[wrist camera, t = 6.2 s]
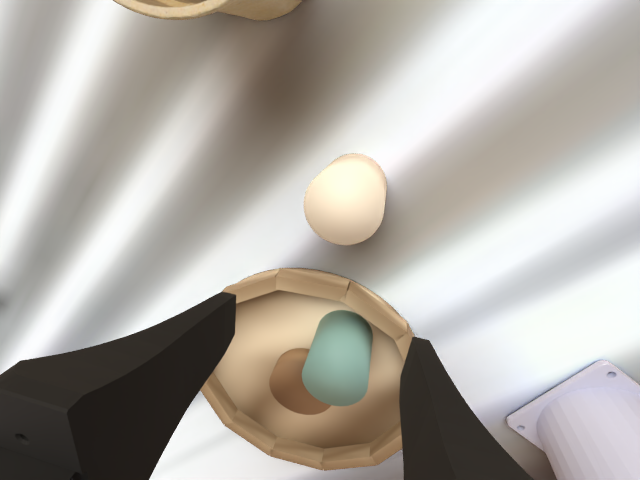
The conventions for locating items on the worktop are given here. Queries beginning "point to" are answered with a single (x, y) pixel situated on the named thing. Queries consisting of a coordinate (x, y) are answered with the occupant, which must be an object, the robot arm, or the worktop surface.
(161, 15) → the flower pot
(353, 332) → the bead teal
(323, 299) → the ring tray
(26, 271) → the worktop surface
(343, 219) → the bead cream
